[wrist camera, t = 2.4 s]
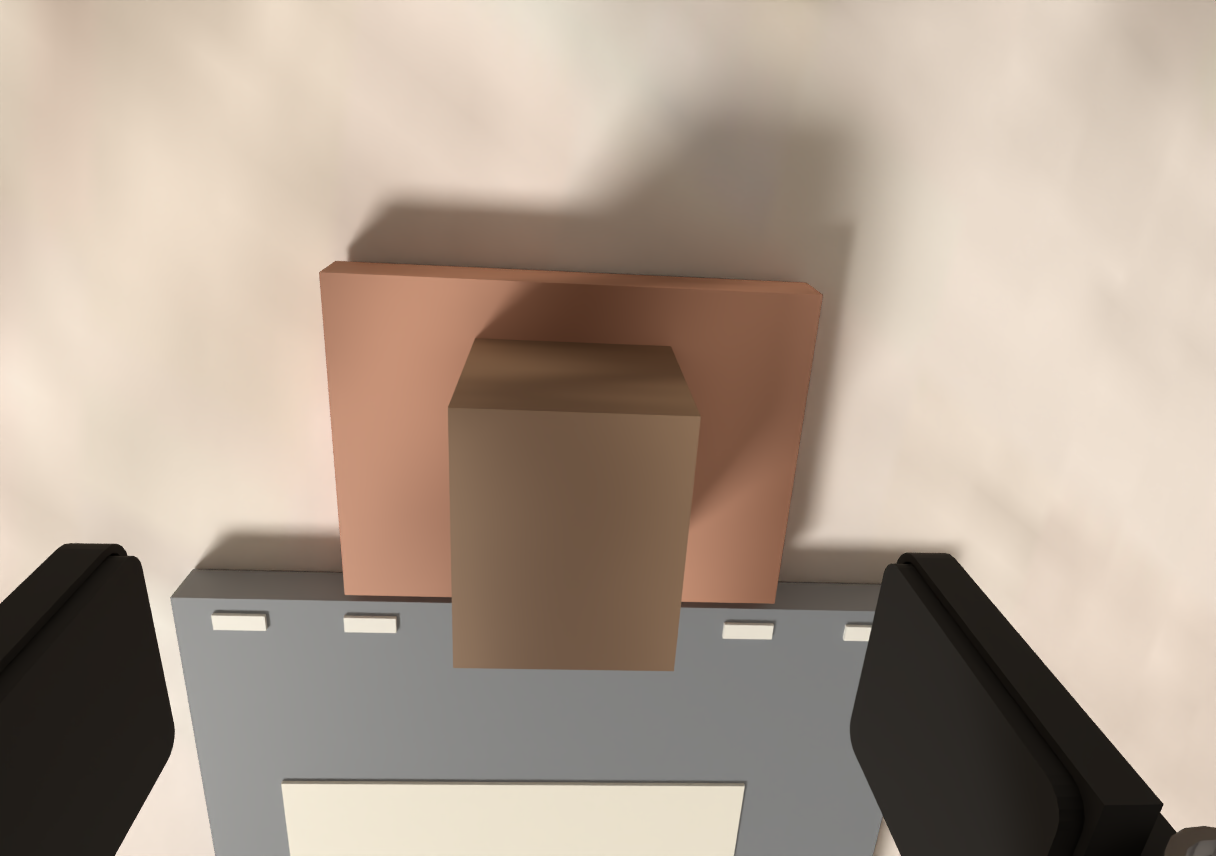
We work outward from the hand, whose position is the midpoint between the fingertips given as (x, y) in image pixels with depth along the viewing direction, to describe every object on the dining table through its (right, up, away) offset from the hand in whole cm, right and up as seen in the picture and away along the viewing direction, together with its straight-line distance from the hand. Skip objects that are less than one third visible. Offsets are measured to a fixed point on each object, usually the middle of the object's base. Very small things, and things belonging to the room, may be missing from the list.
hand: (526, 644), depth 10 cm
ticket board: (0, -7, +12) cm, 14 cm away
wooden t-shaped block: (0, +3, +8) cm, 9 cm away
